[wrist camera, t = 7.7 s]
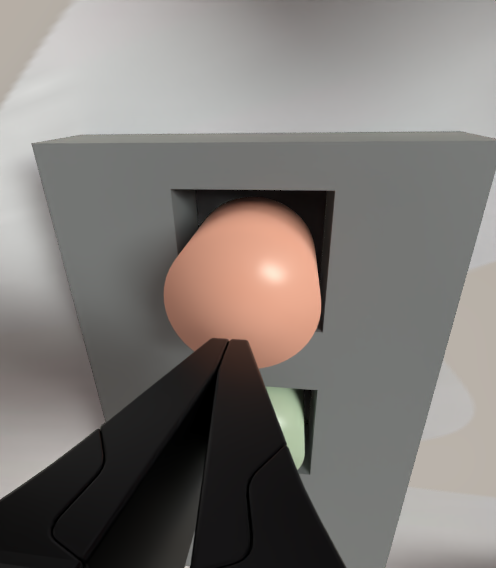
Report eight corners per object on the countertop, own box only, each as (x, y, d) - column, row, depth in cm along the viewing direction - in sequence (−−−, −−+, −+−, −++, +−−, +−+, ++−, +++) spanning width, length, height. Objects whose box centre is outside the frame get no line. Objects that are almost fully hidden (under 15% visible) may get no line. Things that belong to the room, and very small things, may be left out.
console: (460, 131, 13) (503, 140, 10) (369, 535, 24) (378, 590, 21) (80, 134, 14) (31, 143, 12) (159, 511, 25) (142, 560, 23)
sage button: (305, 357, 17) (307, 415, 14) (301, 423, 19) (302, 488, 16) (214, 351, 18) (196, 406, 15) (219, 417, 20) (204, 478, 17)
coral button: (319, 197, 12) (327, 232, 9) (311, 311, 14) (315, 373, 11) (189, 195, 13) (153, 228, 9) (199, 306, 15) (172, 364, 11)
